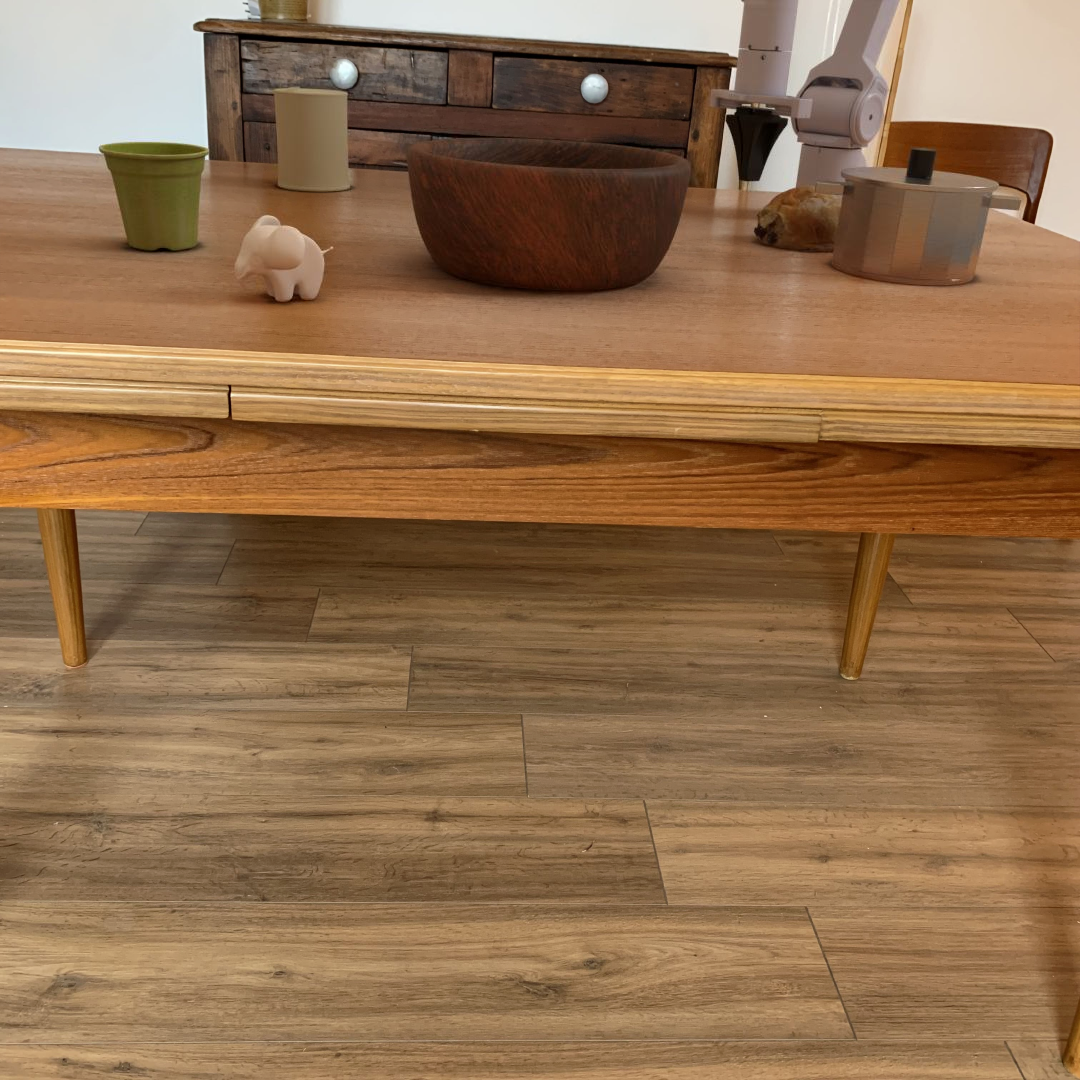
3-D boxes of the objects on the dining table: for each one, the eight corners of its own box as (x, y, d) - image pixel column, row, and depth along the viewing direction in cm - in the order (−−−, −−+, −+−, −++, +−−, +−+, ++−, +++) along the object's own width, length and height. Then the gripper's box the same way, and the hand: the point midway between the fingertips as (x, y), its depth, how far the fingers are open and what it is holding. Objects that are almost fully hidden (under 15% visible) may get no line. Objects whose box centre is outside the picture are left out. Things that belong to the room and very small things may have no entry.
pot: (808, 250, 117) (821, 167, 114) (994, 268, 113) (1014, 182, 109) (800, 273, 105) (814, 181, 102) (1008, 294, 101) (1030, 199, 97)
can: (264, 183, 142) (258, 83, 137) (325, 180, 147) (322, 84, 142) (302, 193, 136) (298, 89, 131) (364, 189, 141) (362, 89, 136)
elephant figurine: (222, 292, 86) (217, 214, 84) (320, 285, 90) (317, 211, 87) (246, 311, 81) (241, 229, 78) (349, 304, 85) (347, 225, 82)
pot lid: (841, 174, 114) (847, 137, 112) (989, 186, 111) (997, 148, 109) (837, 190, 101) (843, 149, 100) (1003, 204, 98) (1013, 162, 96)
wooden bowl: (640, 246, 114) (649, 142, 109) (715, 302, 92) (731, 174, 87) (399, 242, 109) (398, 133, 105) (417, 299, 87) (417, 164, 83)
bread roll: (827, 288, 117) (872, 221, 113) (745, 239, 116) (788, 170, 113) (823, 271, 126) (865, 208, 122) (747, 225, 125) (786, 161, 121)
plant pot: (237, 244, 104) (230, 148, 100) (167, 260, 96) (157, 156, 92) (160, 233, 107) (151, 139, 104) (87, 246, 99) (74, 146, 96)
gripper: (694, 46, 123) (682, 173, 128) (784, 52, 112) (766, 190, 117) (742, 48, 126) (728, 171, 132) (833, 54, 115) (813, 188, 121)
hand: (749, 180), depth 125 cm, fingers closed
